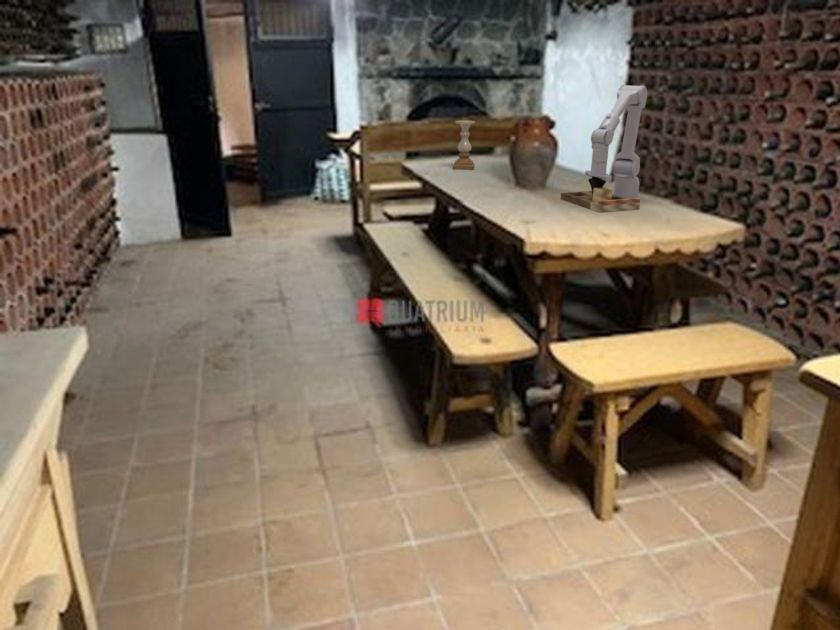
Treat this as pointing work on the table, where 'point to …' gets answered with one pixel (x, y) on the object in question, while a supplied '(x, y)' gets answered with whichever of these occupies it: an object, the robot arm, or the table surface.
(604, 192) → the beech block
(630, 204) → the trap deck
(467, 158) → the candle holder
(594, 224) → the table surface
